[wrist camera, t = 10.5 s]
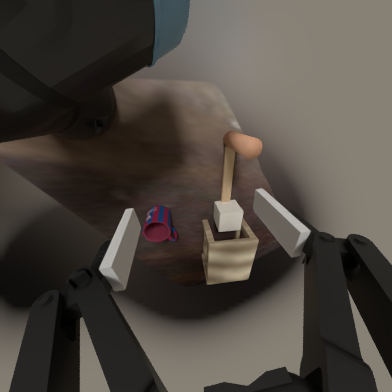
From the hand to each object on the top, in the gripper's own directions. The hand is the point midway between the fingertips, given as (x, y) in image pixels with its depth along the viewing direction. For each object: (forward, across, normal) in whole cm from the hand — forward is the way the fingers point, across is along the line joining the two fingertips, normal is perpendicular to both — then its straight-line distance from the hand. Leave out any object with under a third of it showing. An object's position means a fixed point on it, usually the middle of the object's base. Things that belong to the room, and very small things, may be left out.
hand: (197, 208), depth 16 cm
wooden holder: (+21, +9, -28) cm, 36 cm away
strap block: (+21, +11, -8) cm, 25 cm away
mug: (+22, -8, -17) cm, 29 cm away
